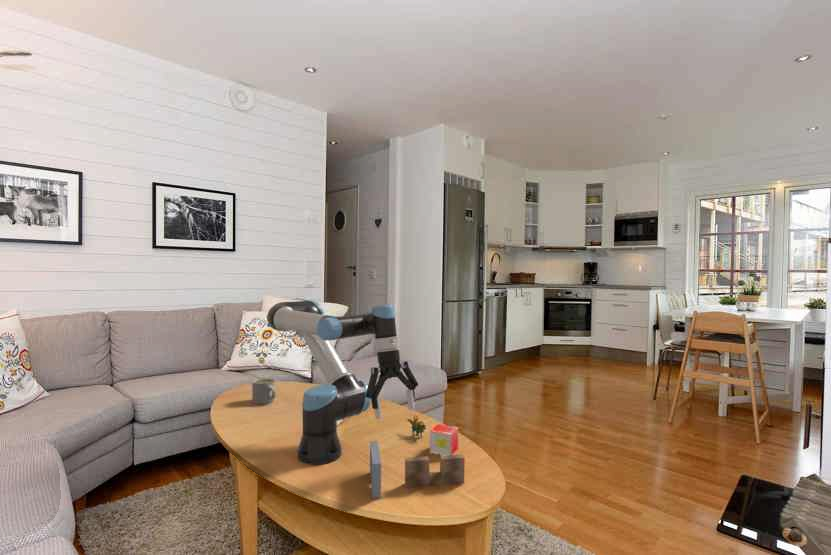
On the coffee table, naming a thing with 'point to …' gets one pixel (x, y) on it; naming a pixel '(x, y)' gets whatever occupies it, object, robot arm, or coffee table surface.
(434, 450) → the red patterned cube
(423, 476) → the walnut slotted upright
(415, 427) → the figurine
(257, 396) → the coffee mug
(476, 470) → the coffee table surface
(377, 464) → the grey slotted plate
